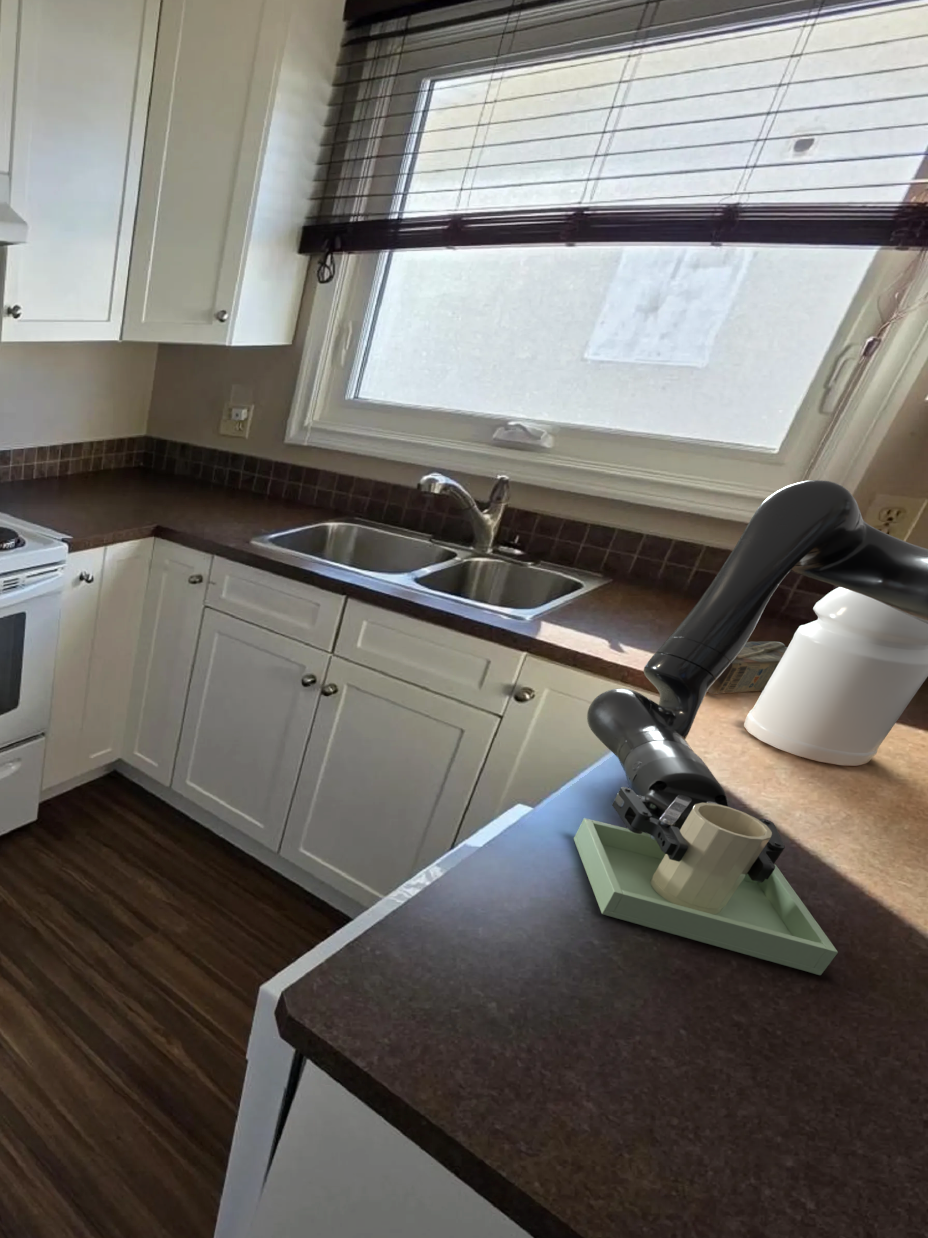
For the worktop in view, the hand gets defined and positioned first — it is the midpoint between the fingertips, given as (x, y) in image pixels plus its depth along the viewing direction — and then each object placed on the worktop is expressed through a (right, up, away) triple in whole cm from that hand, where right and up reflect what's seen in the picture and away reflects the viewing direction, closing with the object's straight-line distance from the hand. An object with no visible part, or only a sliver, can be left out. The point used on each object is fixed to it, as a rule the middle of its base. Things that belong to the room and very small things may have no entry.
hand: (720, 864), depth 82 cm
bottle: (+50, +10, +38) cm, 63 cm away
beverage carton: (+58, +19, +56) cm, 83 cm away
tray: (+1, -5, +5) cm, 7 cm away
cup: (+1, -4, +5) cm, 6 cm away
